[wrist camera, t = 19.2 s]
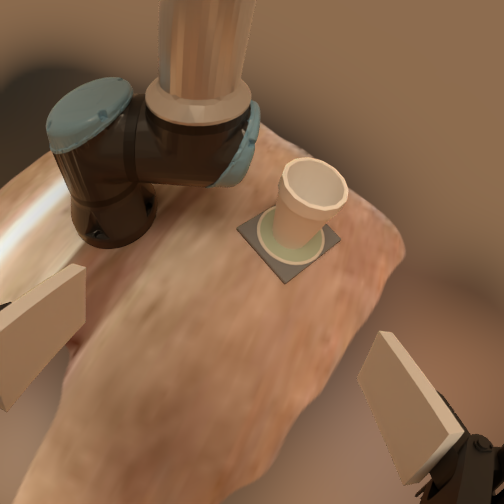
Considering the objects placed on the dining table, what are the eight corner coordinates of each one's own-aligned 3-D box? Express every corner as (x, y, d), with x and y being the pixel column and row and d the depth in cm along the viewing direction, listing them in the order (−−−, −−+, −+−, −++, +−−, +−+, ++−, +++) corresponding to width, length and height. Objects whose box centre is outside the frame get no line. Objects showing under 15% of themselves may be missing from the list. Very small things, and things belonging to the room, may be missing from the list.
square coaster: (236, 229, 50) (236, 226, 49) (295, 194, 56) (296, 192, 55) (284, 284, 47) (285, 282, 46) (340, 240, 53) (341, 238, 52)
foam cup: (325, 230, 52) (356, 182, 41) (302, 268, 48) (334, 223, 37) (279, 201, 54) (300, 148, 42) (252, 236, 49) (269, 183, 38)
